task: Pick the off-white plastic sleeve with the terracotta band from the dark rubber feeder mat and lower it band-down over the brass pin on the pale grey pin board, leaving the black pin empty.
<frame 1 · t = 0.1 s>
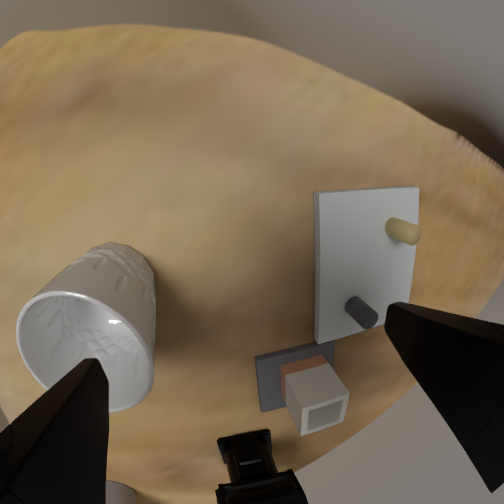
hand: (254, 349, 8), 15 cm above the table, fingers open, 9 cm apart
coffee cup: (115, 487, 30), on the table
white cup: (116, 282, 21), on the table
pin board: (367, 262, 25), on the table
sleeve: (301, 375, 27), point 1 cm above the table, touching feeder mat
feeder mat: (294, 376, 28), on the table
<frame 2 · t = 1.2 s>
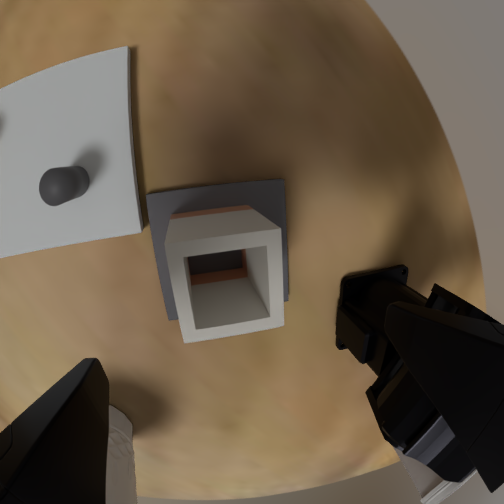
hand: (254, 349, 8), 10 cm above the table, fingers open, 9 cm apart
coffee cup: (403, 420, 32), on the table
white cup: (98, 419, 20), on the table
pin board: (31, 161, 13), on the table
sleeve: (213, 246, 17), point 1 cm above the table, touching feeder mat
feeder mat: (221, 250, 18), on the table
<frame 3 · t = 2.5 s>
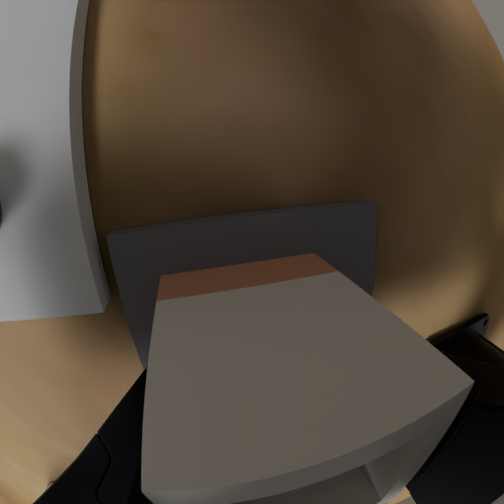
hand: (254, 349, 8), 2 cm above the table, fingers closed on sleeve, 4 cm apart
sleeve: (246, 330, 9), point 1 cm above the table, touching feeder mat, gripper
feeder mat: (258, 330, 9), on the table
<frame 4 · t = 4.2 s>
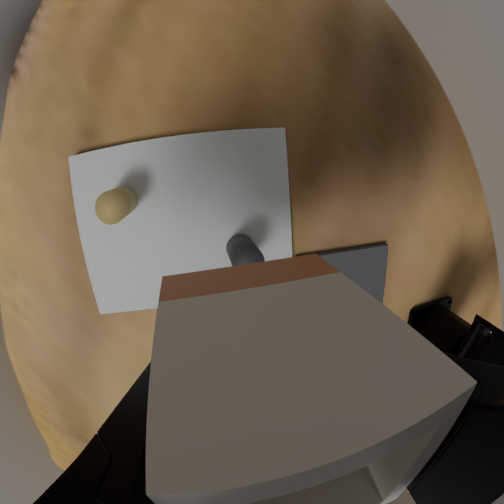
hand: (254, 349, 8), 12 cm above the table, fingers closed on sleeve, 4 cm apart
pin board: (182, 221, 18), on the table
sleeve: (248, 331, 9), point 11 cm above the table, touching gripper
feeder mat: (341, 295, 23), on the table
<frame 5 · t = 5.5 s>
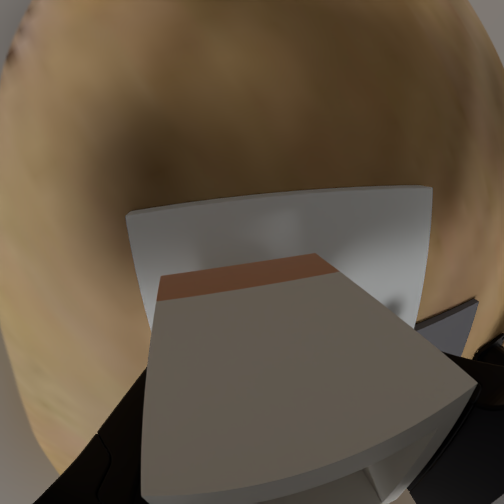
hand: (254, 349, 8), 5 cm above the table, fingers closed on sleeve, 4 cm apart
pin board: (304, 306, 13), on the table
sleeve: (247, 331, 9), point 4 cm above the table, touching gripper
feeder mat: (433, 354, 18), on the table
when the fingers open (3 cm above the table, at t = 6.2 s): sleeve stays where it is, resting on pin board.
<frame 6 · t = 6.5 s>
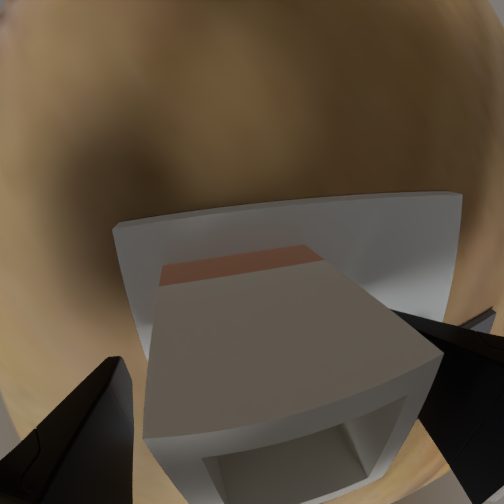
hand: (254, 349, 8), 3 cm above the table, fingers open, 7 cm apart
pin board: (322, 329, 12), on the table
sleeve: (242, 317, 9), point 1 cm above the table, touching pin board
feeder mat: (448, 368, 16), on the table
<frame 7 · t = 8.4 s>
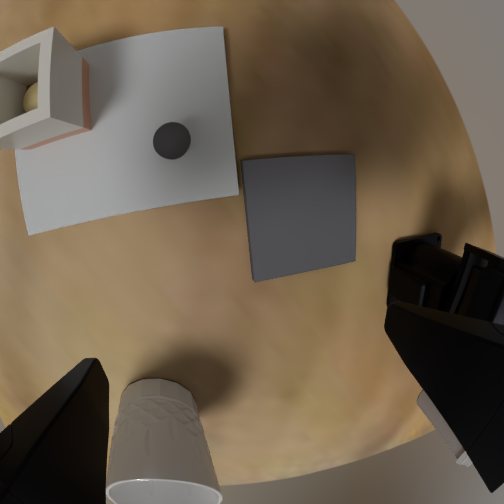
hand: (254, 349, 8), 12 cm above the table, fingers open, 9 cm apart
coffee cup: (431, 388, 34), on the table
white cup: (158, 402, 22), on the table
pin board: (114, 124, 15), on the table
sleeve: (57, 105, 12), point 1 cm above the table, touching pin board
feeder mat: (303, 214, 19), on the table
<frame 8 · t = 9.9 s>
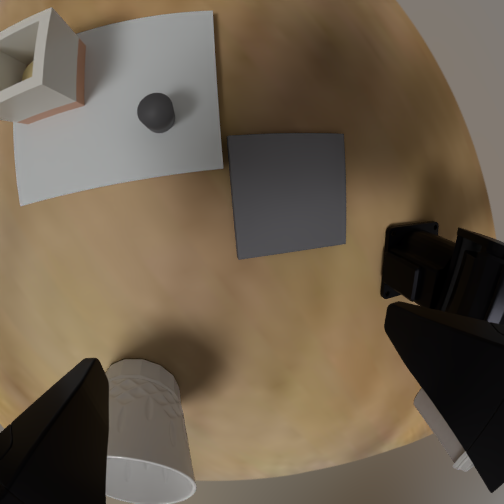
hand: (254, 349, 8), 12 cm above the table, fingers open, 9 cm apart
coffee cup: (429, 389, 33), on the table
white cup: (141, 385, 21), on the table
pin board: (107, 101, 14), on the table
sleeve: (54, 83, 12), point 1 cm above the table, touching pin board
feeder mat: (290, 192, 19), on the table
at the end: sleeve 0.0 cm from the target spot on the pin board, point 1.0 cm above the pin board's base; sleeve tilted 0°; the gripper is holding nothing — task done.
